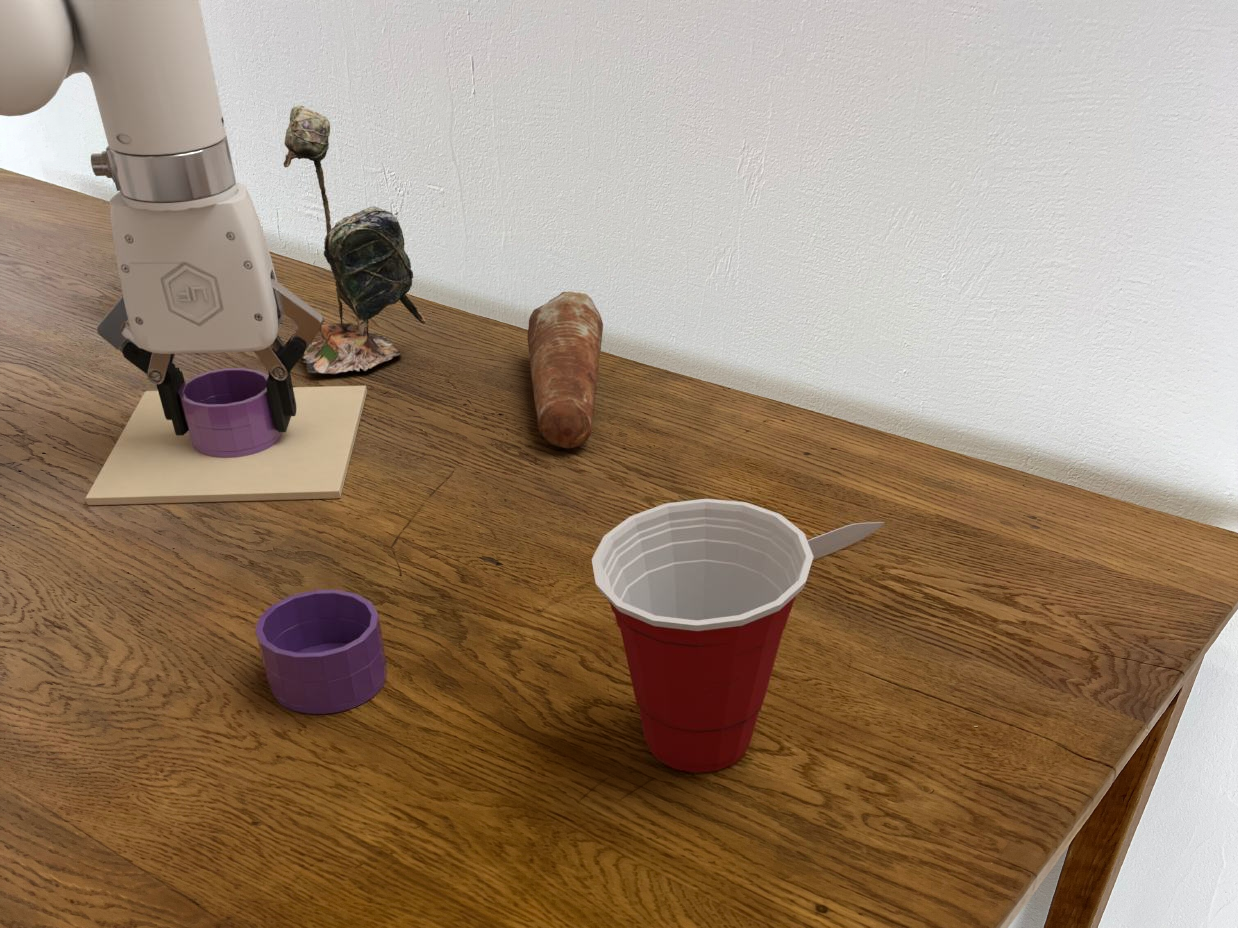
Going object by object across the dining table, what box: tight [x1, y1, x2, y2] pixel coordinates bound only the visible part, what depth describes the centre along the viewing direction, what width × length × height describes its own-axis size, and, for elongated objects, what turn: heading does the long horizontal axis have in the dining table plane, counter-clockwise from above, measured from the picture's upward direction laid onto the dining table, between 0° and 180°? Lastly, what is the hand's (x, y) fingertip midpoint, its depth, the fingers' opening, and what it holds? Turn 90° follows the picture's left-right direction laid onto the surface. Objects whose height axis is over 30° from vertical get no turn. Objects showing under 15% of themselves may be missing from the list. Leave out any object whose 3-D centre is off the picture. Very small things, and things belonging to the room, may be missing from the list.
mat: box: [85, 385, 368, 506], centre depth 96 cm, size 18×18×1 cm
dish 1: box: [178, 367, 282, 458], centre depth 94 cm, size 7×7×4 cm
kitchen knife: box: [807, 521, 886, 561], centre depth 81 cm, size 18×1×2 cm, turn 123°
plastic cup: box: [591, 498, 814, 774], centre depth 65 cm, size 11×11×12 cm
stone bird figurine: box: [283, 105, 426, 375], centre depth 101 cm, size 8×11×20 cm
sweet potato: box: [526, 291, 604, 449], centre depth 99 cm, size 6×19×6 cm, turn 179°
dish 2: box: [254, 589, 388, 715], centre depth 72 cm, size 7×7×4 cm
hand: (234, 424), depth 95 cm, fingers closed on dish 1, 6 cm apart
